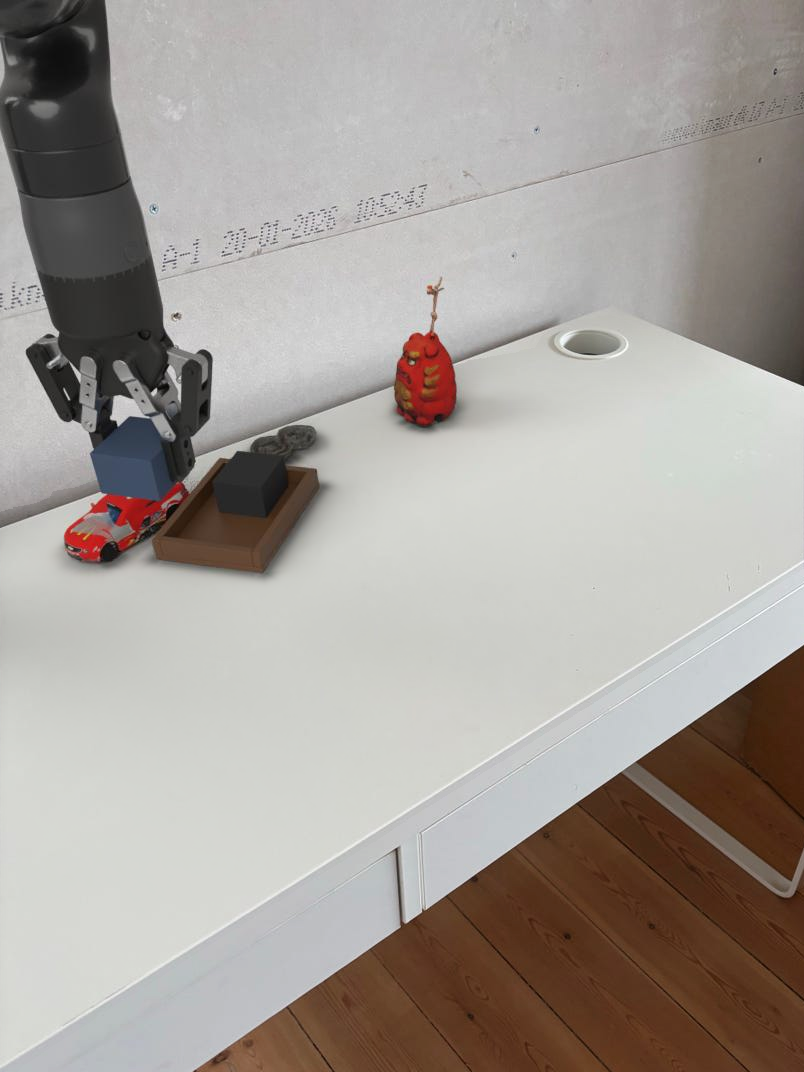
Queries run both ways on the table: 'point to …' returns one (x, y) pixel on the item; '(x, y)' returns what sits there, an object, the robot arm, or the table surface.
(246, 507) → the black block
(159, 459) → the blue block
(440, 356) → the red clay folk toy
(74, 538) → the race car
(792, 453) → the table surface
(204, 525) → the brown tray
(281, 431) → the corroded twin loop
